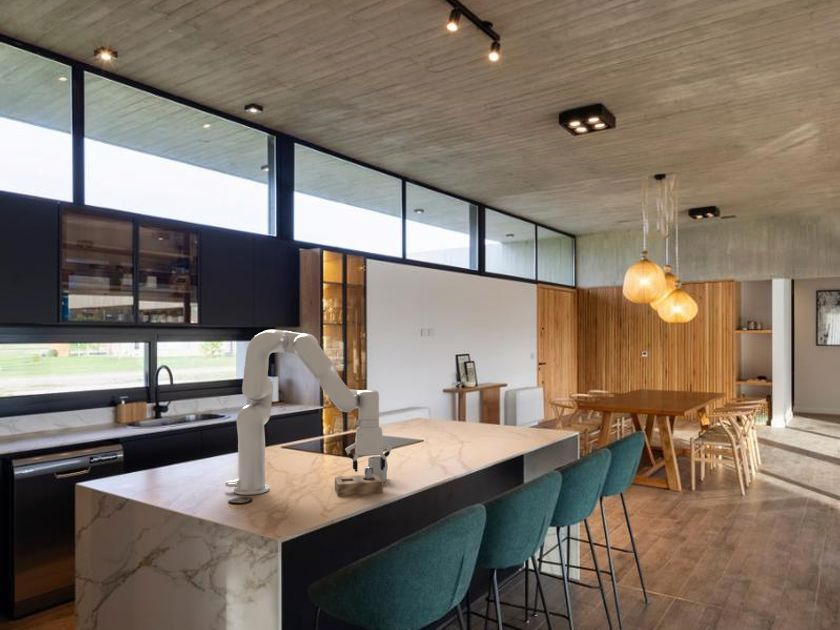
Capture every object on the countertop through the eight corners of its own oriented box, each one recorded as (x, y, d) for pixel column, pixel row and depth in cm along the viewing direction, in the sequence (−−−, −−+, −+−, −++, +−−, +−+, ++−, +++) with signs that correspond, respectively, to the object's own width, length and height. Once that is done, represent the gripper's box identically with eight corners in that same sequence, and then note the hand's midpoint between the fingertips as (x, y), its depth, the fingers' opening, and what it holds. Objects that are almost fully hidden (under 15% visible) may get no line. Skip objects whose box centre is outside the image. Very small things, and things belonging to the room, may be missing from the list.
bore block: (338, 495, 217) (337, 484, 218) (334, 487, 229) (334, 476, 229) (382, 492, 221) (382, 481, 221) (377, 484, 233) (377, 474, 233)
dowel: (365, 487, 224) (365, 468, 225) (364, 486, 227) (363, 466, 228) (374, 487, 225) (373, 467, 225) (372, 485, 228) (372, 466, 228)
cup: (364, 482, 238) (364, 458, 238) (379, 476, 246) (379, 454, 246) (379, 484, 234) (379, 460, 234) (394, 478, 242) (394, 456, 243)
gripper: (346, 426, 221) (346, 474, 221) (393, 424, 225) (394, 471, 225) (344, 423, 228) (344, 469, 228) (390, 421, 232) (390, 466, 232)
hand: (369, 470), depth 226 cm, fingers open, 9 cm apart
